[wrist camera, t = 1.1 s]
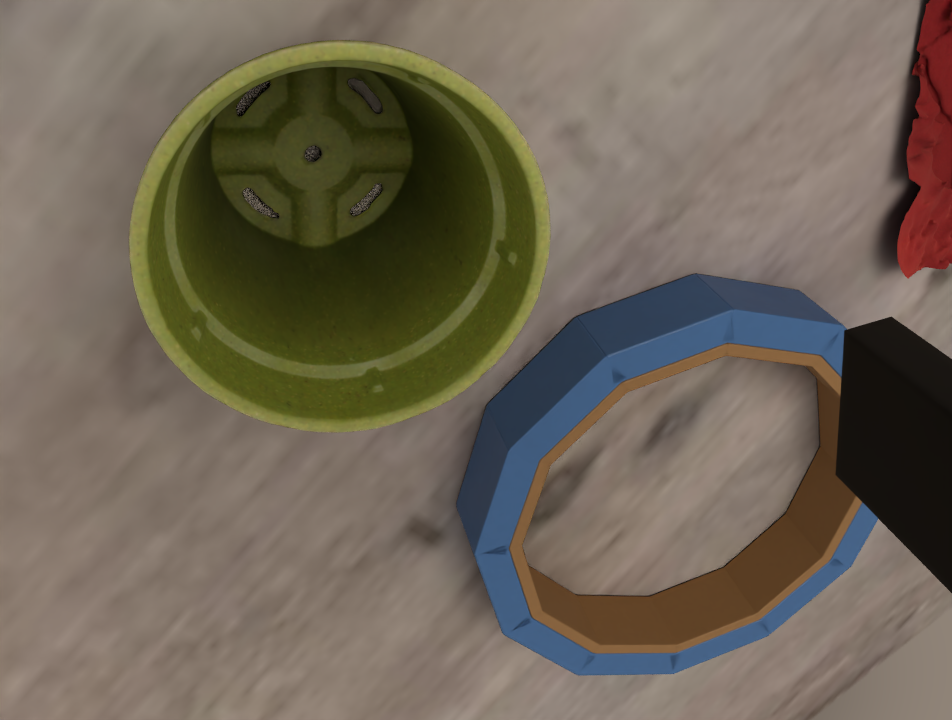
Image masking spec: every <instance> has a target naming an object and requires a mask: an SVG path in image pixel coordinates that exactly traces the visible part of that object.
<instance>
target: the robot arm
mask: <svg viewBox="0 0 952 720" xmlns="http://www.w3.org/2000/svg"><path fill="white" fill-rule="evenodd" d="M835 475H836V476H837V477H838V478H839V479H840V480H841V481H842V482H843V483H844V484H845V485H846V486H847V487H848V488H849V489H850V490H851V491H852V492H853V493H854V494H855V495H856V496H857V497H858V498H859V499H860V500H861V501H862V502H863V503H864V504H865V505H866V506H867V507H868V508H869V509H870V511H871V512H872V513H873V514H874V515H875V516H876V517H877V518H878V519H879V520H880V521H881V522H882V523H883V524H884V525H885V526H886V527H887V528H888V529H889V530H890V531H891V532H892V533H893V534H894V535H895V536H896V537H897V538H898V539H899V540H900V541H901V542H902V543H903V544H904V545H905V546H906V547H907V548H908V549H909V550H910V551H911V552H912V553H913V554H914V555H915V556H916V557H917V558H918V559H919V560H920V561H921V562H922V563H923V564H924V565H925V566H926V567H927V568H928V569H929V570H930V571H931V573H932V574H933V575H934V576H935V577H936V578H937V579H938V580H939V581H940V582H941V583H942V584H943V585H944V586H945V587H946V588H947V589H948V590H949V591H950V592H951V593H952V359H951V358H949V357H948V356H947V355H945V354H944V353H942V352H941V351H939V350H938V349H937V348H935V347H934V346H932V345H931V344H930V343H928V342H927V341H925V340H924V339H922V338H921V337H920V336H918V335H917V334H915V333H914V332H912V331H911V330H910V329H908V328H907V327H905V326H904V325H902V324H901V323H900V322H898V321H897V320H895V319H894V318H893V317H888V318H885V319H882V320H878V321H875V322H871V323H868V324H865V325H861V326H858V327H854V328H851V329H848V330H844V344H843V360H842V376H841V393H840V409H839V425H838V441H837V457H836V473H835Z"/></svg>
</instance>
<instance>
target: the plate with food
mask: <svg viewBox="0 0 952 720" xmlns="http://www.w3.org/2000/svg"><path fill="white" fill-rule="evenodd" d="M917 51H918V52H920V57H919V60H918V62H916V63H915V65H914V69H913V71H912V75H917V76H918V77H920V84H921V90H920V96H919V98H918V99H917V102H916V105H915V107H916V110H917V112H918V113H919V118H916V119H914V120H913V125H912V133H911V135H910V137H909V146H908V147H907V164H908V171H909V179H911V180H912V181H915V182H916V183H917V184H918V185H919V186H921V189H920V192H919V193H918V195H917V197H916V199H915V200H914V202H913V204H912V205H911V208H910V210H909V211H908V212H907V213H906V215H905V219H904V221H903V223H902V225H901V229H900V233H899V237H898V243H897V252H898V263H899V265H900V268H901V270H902V272H903V273H904V275H905V276H906V277H907V278H909V277H911V276H912V275H913V274H914V273H916V271H918V270H921V268H923V267H929V268H936V269H946V268H947V267H948V265H949V263H952V0H930V1H929V3H927V4H926V10H925V14H924V18H923V21H922V26H921V32H920V38H919V43H918V46H917Z"/></svg>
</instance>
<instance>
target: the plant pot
mask: <svg viewBox="0 0 952 720" xmlns="http://www.w3.org/2000/svg"><path fill="white" fill-rule="evenodd" d="M353 78H355V79H358V80H362V81H363V82H364V83H365V84H366V85H367V86H368V88H369V89H370V90H371V91H372V92H373V93H374V94H375V95H376V96H377V97H378V99H379V100H380V102H381V104H382V113H380V114H375V113H374V111H373V110H372V109H371V107H370V106H369V105H368V104H367V102H366V101H365V100H364V99H363V97H362V96H360V95H359V94H358V93H357V92H356V91H354V90H352V89H351V88H350V87H349V86H348V80H349V79H353ZM266 81H268V82H270V84H271V85H270V87H269V88H268V89H266V90H265V91H264V92H263V93H262V94H261V95H260V96H259V97H258V98H257V99H256V100H255V101H254V102H253V103H252V104H251V106H250V107H249V108H248V109H247V111H246V112H245V113H244V115H243V116H238V115H237V110H236V106H237V105H238V103H239V101H240V100H241V98H242V97H243V96H244V95H245V94H246V93H247V91H248V90H250V89H252V88H254V87H256V86H257V85H259V84H261V83H264V82H266ZM313 145H315V146H317V147H319V148H320V149H321V152H322V155H321V157H320V158H319V159H318V160H317V161H315V162H311V161H308V160H307V159H306V158H305V151H306V149H307V148H308V147H311V146H313ZM376 183H381V184H382V185H381V186H382V192H381V194H380V195H379V196H378V197H377V198H376V199H375V200H374V201H373V202H372V204H371V206H370V207H369V208H368V209H367V210H366V211H364V212H363V213H361V214H360V215H357V216H353V215H351V214H350V209H351V208H352V207H353V206H355V205H356V204H357V203H358V202H359V201H360V200H362V199H363V198H364V197H365V196H366V195H367V194H368V193H369V191H371V190H372V189H373V187H374V185H375V184H376ZM245 188H251V189H252V190H253V191H254V193H255V194H256V195H257V196H258V197H259V198H260V199H261V200H262V201H263V202H264V203H265V204H267V205H268V206H269V207H271V208H272V209H273V211H274V212H276V213H278V214H279V216H280V217H279V218H277V217H274V218H272V217H268V216H266V215H264V214H262V213H260V212H258V211H257V210H255V209H254V208H253V207H252V206H251V205H250V204H249V203H248V202H247V201H246V200H245V198H244V195H243V190H245ZM549 247H550V213H549V203H548V197H547V193H546V189H545V184H544V181H543V178H542V175H541V172H540V169H539V166H538V164H537V161H536V159H535V157H534V155H533V153H532V151H531V149H530V147H529V145H528V143H527V142H526V140H525V139H524V137H523V135H522V134H521V132H520V131H519V129H518V128H517V126H516V125H515V124H514V123H513V121H512V120H511V119H510V118H509V116H508V115H507V114H506V113H505V112H504V111H503V110H502V109H501V107H500V106H499V105H498V104H497V103H496V102H495V101H494V100H492V99H491V98H490V97H489V96H488V95H487V94H486V93H485V92H483V91H482V90H481V89H480V88H479V87H477V86H476V85H475V84H473V83H472V82H470V81H469V80H467V79H466V78H464V77H462V76H461V75H459V74H457V73H456V72H454V71H452V70H451V69H449V68H447V67H446V66H444V65H442V64H440V63H438V62H436V61H434V60H432V59H429V58H427V57H425V56H422V55H420V54H417V53H414V52H412V51H409V50H406V49H402V48H398V47H394V46H389V45H385V44H380V43H374V42H366V41H351V40H329V41H318V42H311V43H305V44H299V45H295V46H290V47H286V48H282V49H279V50H276V51H272V52H269V53H266V54H263V55H261V56H259V57H256V58H254V59H252V60H250V61H248V62H246V63H243V64H241V65H240V66H238V67H236V68H234V69H232V70H230V71H229V72H227V73H226V74H224V75H223V76H221V77H220V78H218V79H216V80H215V81H213V82H212V83H211V84H210V85H208V86H207V87H206V88H205V89H203V90H202V91H201V92H200V93H199V94H198V95H196V96H195V97H194V98H193V99H192V100H191V101H190V102H189V103H188V104H187V105H186V106H185V107H184V108H183V109H182V110H181V112H180V113H179V114H178V115H177V116H176V117H175V118H174V120H173V121H172V122H171V124H170V125H169V127H168V128H167V129H166V131H165V132H164V134H163V135H162V137H161V138H160V140H159V141H158V143H157V145H156V146H155V148H154V150H153V152H152V154H151V156H150V158H149V160H148V162H147V164H146V167H145V169H144V172H143V174H142V177H141V180H140V182H139V185H138V188H137V192H136V196H135V200H134V204H133V208H132V215H131V222H130V231H129V253H130V265H131V273H132V278H133V283H134V288H135V292H136V296H137V300H138V303H139V306H140V308H141V311H142V314H143V316H144V319H145V321H146V323H147V325H148V327H149V329H150V331H151V332H152V334H153V336H154V337H155V339H156V340H157V342H158V343H159V345H160V346H161V348H162V349H163V351H164V352H165V353H166V355H167V356H168V357H169V358H170V359H171V361H172V362H173V363H174V364H175V365H176V366H177V367H178V368H179V369H180V370H181V371H182V372H183V373H184V374H185V375H186V376H187V377H188V378H189V379H190V380H191V381H192V382H193V383H194V384H196V385H197V386H198V387H199V388H200V389H201V390H203V391H204V392H206V393H207V394H209V395H210V396H212V397H213V398H215V399H216V400H218V401H220V402H222V403H224V404H226V405H228V406H229V407H231V408H233V409H234V410H236V411H239V412H241V413H242V414H245V415H247V416H250V417H252V418H255V419H257V420H260V421H264V422H267V423H270V424H275V425H280V426H284V427H288V428H294V429H299V430H304V431H312V432H336V433H337V432H354V431H360V430H370V429H376V428H380V427H383V426H387V425H391V424H394V423H397V422H401V421H404V420H406V419H408V418H411V417H414V416H417V415H419V414H422V413H424V412H427V411H429V410H431V409H433V408H435V407H437V406H440V405H442V404H443V403H445V402H447V401H449V400H451V399H452V398H454V397H455V396H457V395H458V394H460V393H461V392H463V391H464V390H465V389H467V388H468V387H469V386H471V385H472V384H473V383H474V382H476V381H477V380H478V379H479V378H480V377H481V376H482V375H483V374H484V373H485V372H486V371H487V370H489V369H490V368H491V367H492V366H493V365H494V364H495V363H496V362H497V361H498V360H499V359H500V358H501V356H502V355H503V354H504V353H505V352H506V351H507V350H508V348H509V347H510V345H511V344H512V342H513V341H514V339H515V338H516V336H517V334H518V333H519V332H520V331H521V329H522V328H523V326H524V325H525V323H526V321H527V319H528V318H529V316H530V314H531V311H532V309H533V307H534V305H535V303H536V301H537V299H538V296H539V293H540V289H541V285H542V281H543V278H544V275H545V271H546V266H547V261H548V256H549Z"/></svg>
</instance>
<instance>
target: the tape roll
mask: <svg viewBox="0 0 952 720" xmlns="http://www.w3.org/2000/svg"><path fill="white" fill-rule="evenodd" d="M844 330H847V329H846V328H845V326H844V325H842V324H841V323H840V322H839V321H837V320H836V319H835V318H834V317H832V316H831V315H830V314H828V313H827V312H826V311H825V310H823V309H822V308H821V307H820V306H818V305H817V304H816V303H814V302H813V301H812V300H811V299H809V298H808V297H807V296H806V295H804V294H803V293H802V292H800V291H799V290H795V289H788V288H782V287H776V286H770V285H764V284H757V283H751V282H745V281H739V280H733V279H726V278H720V277H714V276H708V275H701V274H692V275H690V276H687V277H684V278H681V279H679V280H676V281H673V282H670V283H668V284H665V285H662V286H659V287H657V288H654V289H651V290H648V291H646V292H643V293H640V294H637V295H635V296H632V297H629V298H626V299H624V300H621V301H618V302H615V303H613V304H610V305H607V306H604V307H602V308H599V309H596V310H593V311H591V312H588V313H585V314H582V315H580V316H578V317H575V318H574V319H573V320H572V321H571V322H570V323H569V324H568V325H567V326H566V327H565V328H564V329H563V330H562V331H561V332H560V333H559V334H558V335H557V336H556V337H555V338H554V339H553V340H552V341H551V342H550V343H549V344H548V345H547V346H546V347H545V348H544V349H543V350H542V351H541V352H540V353H539V354H538V355H537V356H536V357H535V358H534V359H533V360H532V361H531V362H530V363H529V364H528V365H527V366H526V367H525V368H524V369H523V370H522V371H521V372H520V373H519V374H518V375H517V376H516V377H515V378H514V379H513V380H512V381H511V382H510V383H509V384H508V385H507V386H506V387H505V388H504V389H502V390H501V391H500V392H499V393H498V394H497V395H496V396H495V397H494V398H493V399H492V400H491V401H490V402H489V403H488V405H487V406H486V409H485V413H484V416H483V419H482V422H481V425H480V429H479V432H478V435H477V438H476V442H475V445H474V448H473V451H472V455H471V458H470V461H469V464H468V467H467V471H466V474H465V477H464V480H463V484H462V487H461V490H460V493H459V497H458V500H457V503H456V505H457V506H456V507H457V510H458V512H459V515H460V518H461V521H462V523H463V526H464V529H465V532H466V534H467V537H468V540H469V543H470V546H471V548H472V551H473V554H474V557H475V559H476V562H477V565H478V568H479V570H480V573H481V576H482V579H483V581H484V584H485V587H486V590H487V592H488V595H489V598H490V601H491V603H492V606H493V609H494V611H495V614H496V617H497V620H498V622H499V625H500V628H501V631H502V633H503V634H504V635H505V636H507V637H509V638H511V639H513V640H514V641H516V642H518V643H520V644H522V645H523V646H525V647H527V648H529V649H531V650H532V651H534V652H536V653H538V654H540V655H542V656H543V657H545V658H547V659H549V660H551V661H552V662H554V663H556V664H558V665H560V666H561V667H563V668H565V669H567V670H569V671H571V672H572V673H574V674H576V675H639V674H674V673H677V672H679V671H682V670H684V669H687V668H689V667H692V666H694V665H697V664H699V663H702V662H704V661H707V660H709V659H712V658H714V657H717V656H719V655H722V654H724V653H727V652H729V651H732V650H734V649H737V648H739V647H742V646H744V645H747V644H749V643H752V642H754V641H757V640H759V639H762V638H764V637H767V636H769V634H771V633H772V632H773V631H775V630H776V629H777V628H778V627H779V626H781V625H782V624H783V623H784V622H785V621H786V620H788V619H789V618H790V617H791V616H792V615H794V614H795V613H796V612H797V611H798V610H800V609H801V608H802V607H803V606H804V605H806V604H807V603H808V602H809V601H810V600H812V599H813V598H814V597H815V596H816V595H818V594H819V593H820V592H821V591H822V590H824V589H825V588H826V587H827V586H828V585H829V584H831V583H832V582H833V581H834V580H835V579H837V578H838V577H839V576H840V575H841V574H843V573H844V572H845V571H846V570H847V569H849V567H851V566H852V564H853V562H854V560H855V559H856V557H857V555H858V553H859V552H860V550H861V548H862V546H863V545H864V543H865V541H866V539H867V538H868V536H869V534H870V532H871V531H872V529H873V527H874V525H875V524H876V522H877V520H878V518H877V517H876V516H875V515H874V514H873V513H872V512H871V511H870V509H869V508H868V507H867V506H866V505H865V504H864V503H863V502H862V501H861V500H860V499H859V498H858V497H857V496H856V495H855V494H854V493H853V492H852V491H851V490H850V489H849V488H848V487H847V486H846V485H845V484H844V483H843V482H842V481H841V480H840V479H839V478H838V477H837V476H836V475H835V473H836V457H837V441H838V425H839V409H840V393H841V376H842V360H843V344H844ZM723 356H733V357H741V358H749V359H757V360H765V361H773V362H781V363H788V364H796V365H804V366H806V367H807V368H808V370H809V371H810V372H811V373H812V374H813V375H814V376H815V377H816V378H817V386H818V406H819V426H820V445H821V446H820V448H819V450H818V452H817V454H816V456H815V458H814V460H813V461H812V463H811V465H810V467H809V469H808V471H807V473H806V475H805V477H804V479H803V481H802V483H801V485H800V487H799V489H798V491H797V493H796V495H795V497H794V499H793V501H792V503H791V504H790V506H789V508H788V510H787V512H786V514H785V515H784V516H783V517H781V518H780V519H779V520H778V521H777V522H776V523H775V524H773V525H772V526H771V527H770V528H769V529H768V530H766V531H765V532H764V533H763V534H762V535H761V536H760V537H758V538H757V539H756V540H755V541H754V542H753V543H752V544H750V545H749V546H748V547H747V548H746V549H745V550H743V551H742V552H741V553H740V554H739V555H738V556H737V557H735V558H734V559H733V560H732V561H731V562H730V563H729V564H727V565H726V566H725V567H724V568H721V569H719V570H716V571H713V572H711V573H708V574H706V575H703V576H701V577H698V578H696V579H693V580H690V581H688V582H685V583H683V584H680V585H678V586H675V587H673V588H670V589H668V590H665V591H662V592H660V593H657V594H655V595H652V596H650V597H643V596H589V595H575V594H573V593H572V592H570V591H568V590H567V589H565V588H564V587H562V586H560V585H559V584H557V583H556V582H554V581H552V580H551V579H549V578H548V577H546V576H544V575H543V574H541V573H540V572H538V571H536V570H535V569H533V568H532V567H530V566H528V564H527V560H526V557H525V554H524V551H523V548H522V544H523V541H524V538H525V536H526V533H527V530H528V527H529V524H530V522H531V519H532V516H533V513H534V510H535V508H536V505H537V502H538V499H539V496H540V494H541V491H542V488H543V485H544V482H545V480H546V477H547V474H548V471H549V469H550V466H551V464H552V463H553V462H554V461H555V460H556V459H557V458H559V457H560V456H561V455H562V454H563V453H564V452H565V451H566V450H567V449H568V448H569V447H570V446H571V445H572V444H573V443H574V442H575V441H576V440H577V439H578V438H580V437H581V436H582V435H583V434H584V433H585V432H586V431H587V430H588V429H589V428H590V427H591V426H592V425H593V424H594V423H595V422H596V421H597V420H598V419H599V418H601V417H602V416H603V415H604V414H605V413H606V412H607V411H608V410H609V409H610V408H611V407H612V406H613V405H614V404H615V403H616V402H617V401H618V400H619V399H621V398H622V397H623V396H624V395H625V394H626V393H627V392H629V391H632V390H635V389H637V388H640V387H643V386H645V385H648V384H651V383H653V382H656V381H659V380H661V379H664V378H667V377H670V376H672V375H675V374H678V373H680V372H683V371H686V370H688V369H691V368H694V367H696V366H699V365H702V364H705V363H707V362H710V361H713V360H715V359H718V358H721V357H723Z"/></svg>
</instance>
